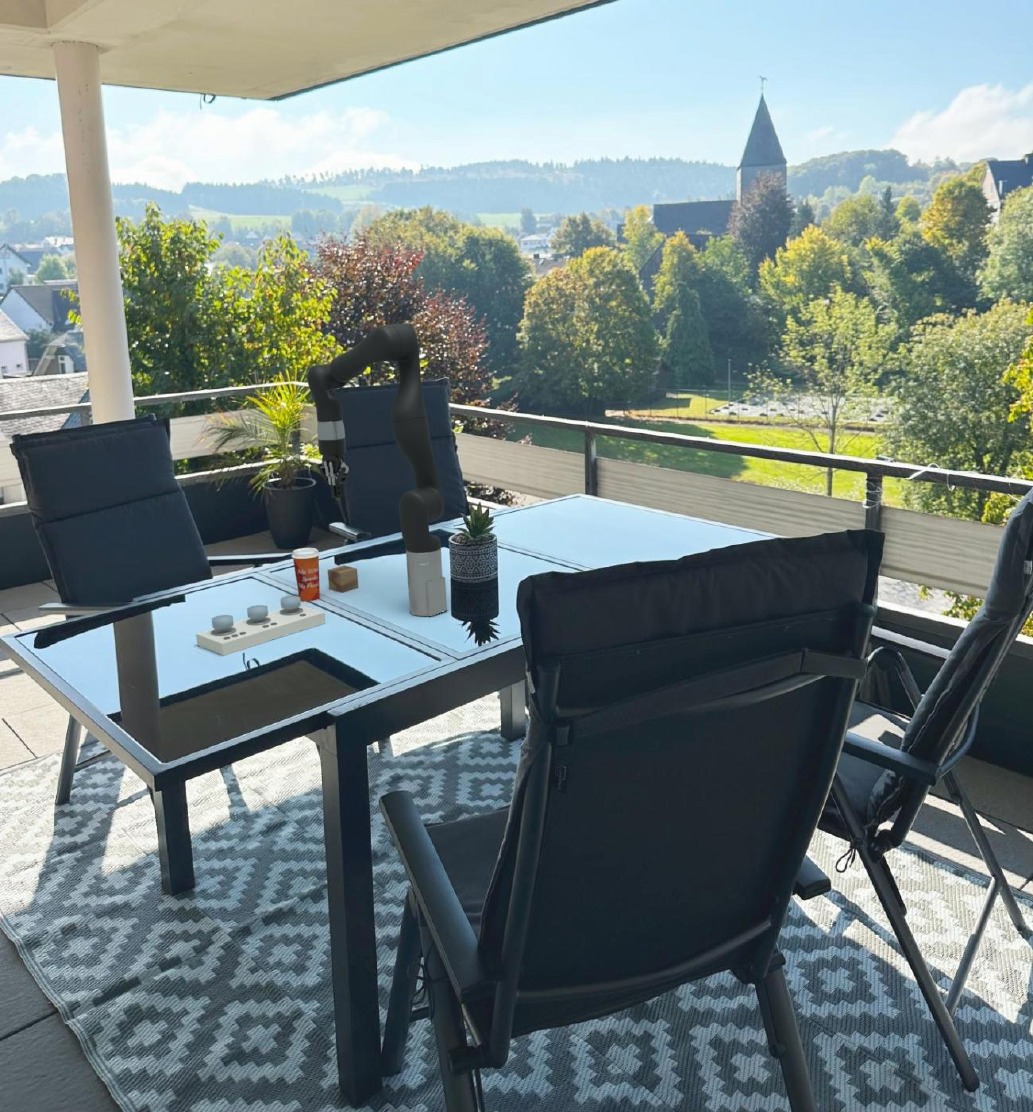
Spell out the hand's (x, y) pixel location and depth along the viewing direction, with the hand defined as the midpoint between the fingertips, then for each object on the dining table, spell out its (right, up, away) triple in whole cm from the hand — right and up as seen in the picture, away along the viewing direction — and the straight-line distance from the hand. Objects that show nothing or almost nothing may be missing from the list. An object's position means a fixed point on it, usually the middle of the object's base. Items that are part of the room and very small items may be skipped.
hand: (336, 497), depth 284 cm
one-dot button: (-8, -30, -24) cm, 39 cm away
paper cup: (-7, -29, -2) cm, 30 cm away
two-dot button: (-14, -32, -31) cm, 46 cm away
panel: (-13, -36, -31) cm, 49 cm away
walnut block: (+1, -26, +7) cm, 27 cm away
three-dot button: (-21, -34, -38) cm, 55 cm away
